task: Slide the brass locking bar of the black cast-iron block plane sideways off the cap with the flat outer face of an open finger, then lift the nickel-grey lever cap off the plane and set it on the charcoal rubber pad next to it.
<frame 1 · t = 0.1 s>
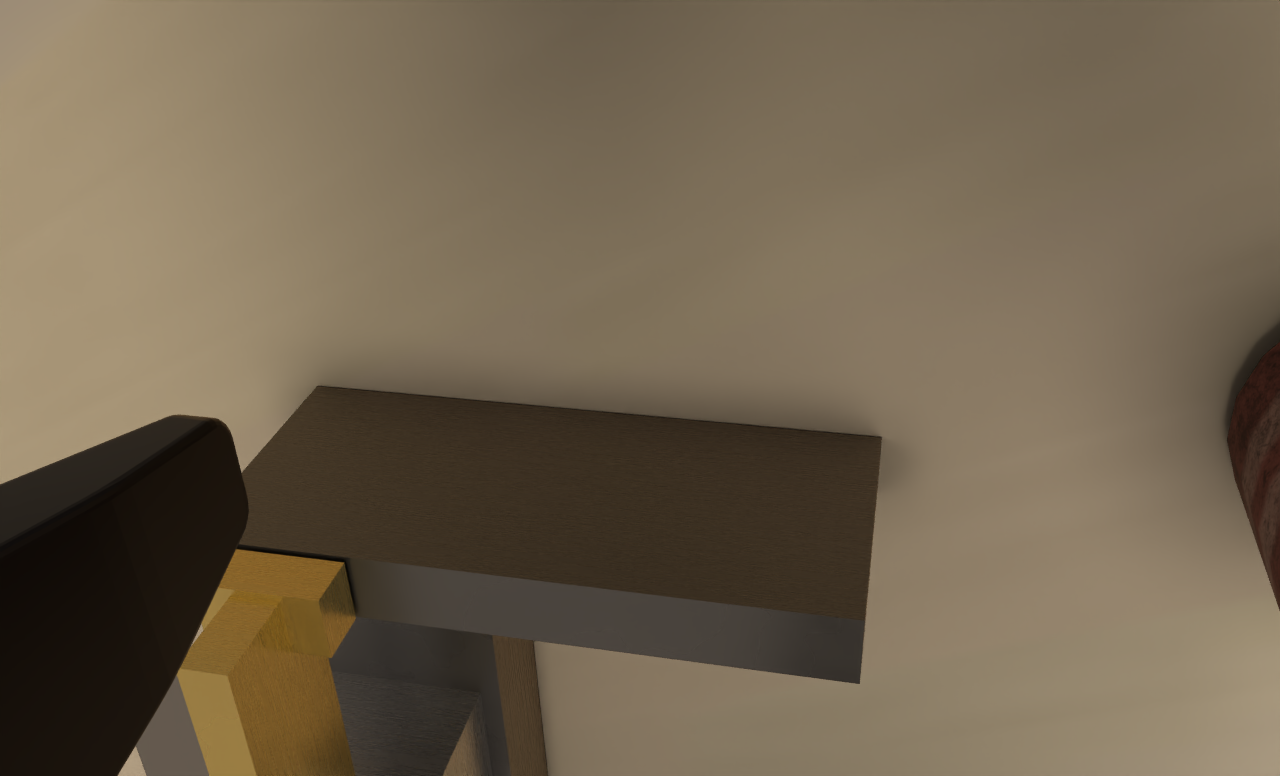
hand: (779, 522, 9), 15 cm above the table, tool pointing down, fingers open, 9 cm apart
rubber pad: (235, 763, 36), on the table
plane body: (439, 635, 32), on the table
lever cap: (409, 738, 30), point 2 cm above the table, touching plane body
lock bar: (284, 761, 24), point 7 cm above the table, slide at 0.0 cm
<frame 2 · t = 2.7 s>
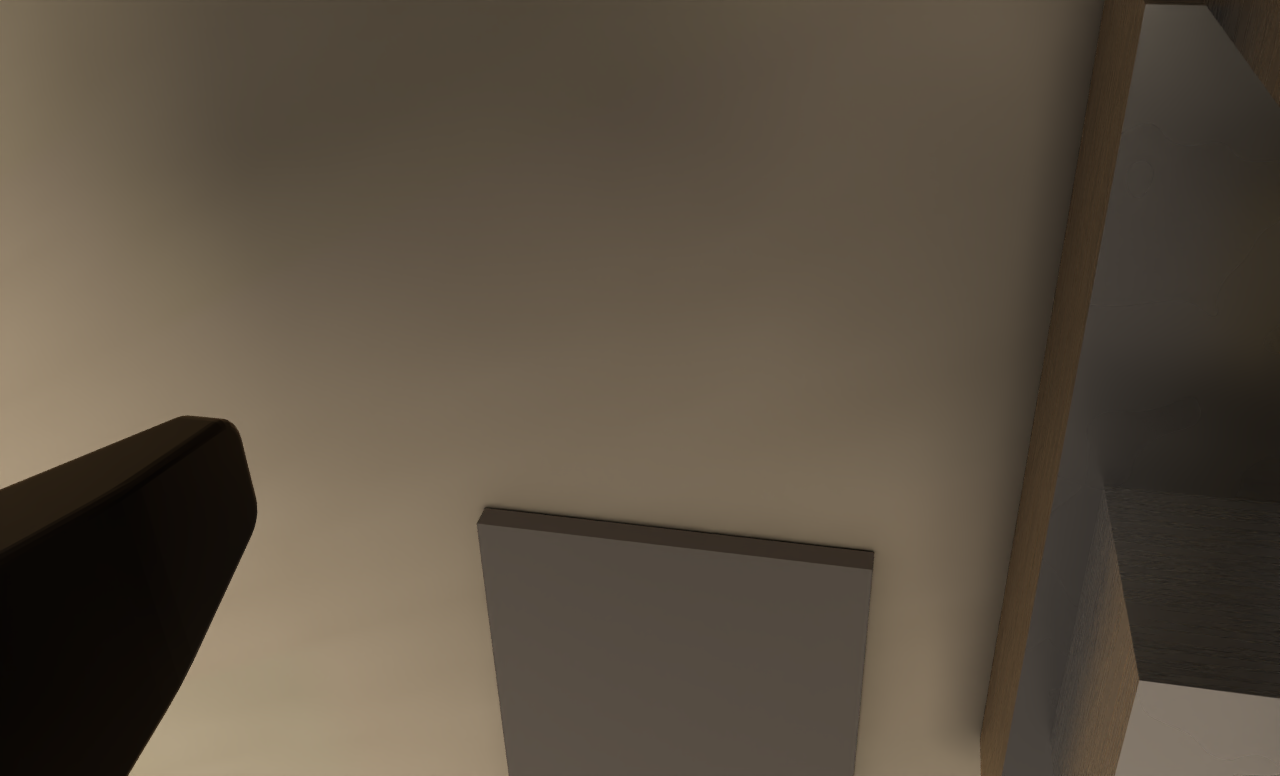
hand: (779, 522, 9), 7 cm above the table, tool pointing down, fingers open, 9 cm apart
rubber pad: (676, 717, 20), on the table
plane body: (1245, 440, 15), on the table
lever cap: (1265, 645, 14), point 2 cm above the table, touching plane body
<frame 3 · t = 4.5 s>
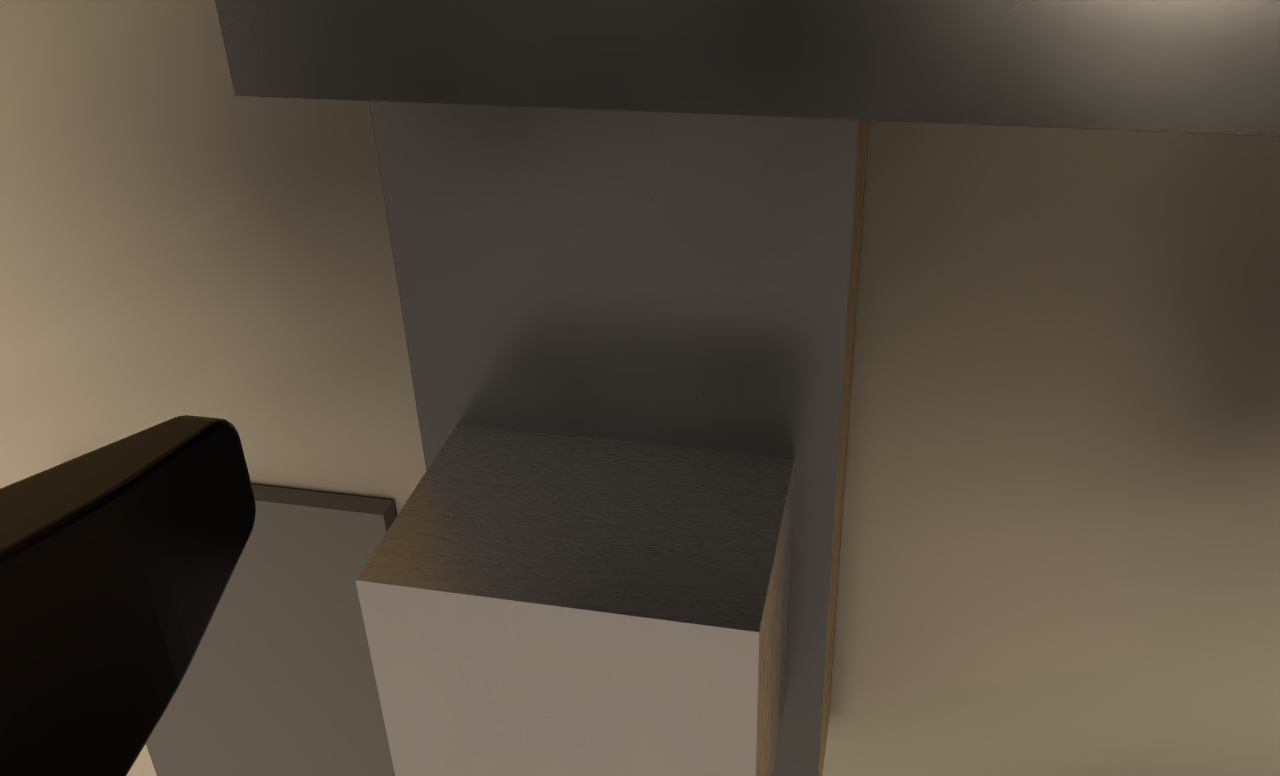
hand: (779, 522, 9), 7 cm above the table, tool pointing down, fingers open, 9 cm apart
rubber pad: (271, 659, 22), on the table
plane body: (664, 391, 17), on the table
lever cap: (627, 569, 15), point 2 cm above the table, touching plane body
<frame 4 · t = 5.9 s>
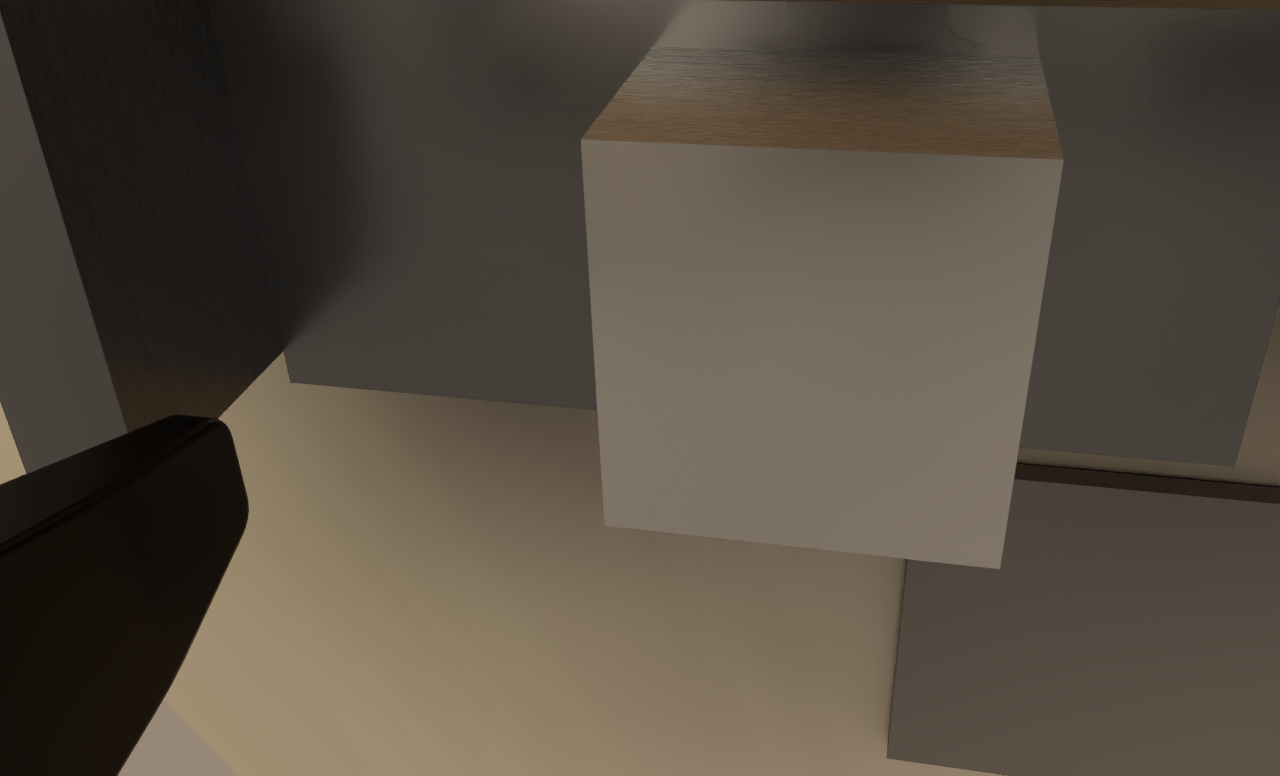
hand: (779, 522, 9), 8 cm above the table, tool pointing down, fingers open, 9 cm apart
rubber pad: (1166, 640, 18), on the table
plane body: (754, 156, 16), on the table
lever cap: (829, 237, 14), point 2 cm above the table, touching plane body
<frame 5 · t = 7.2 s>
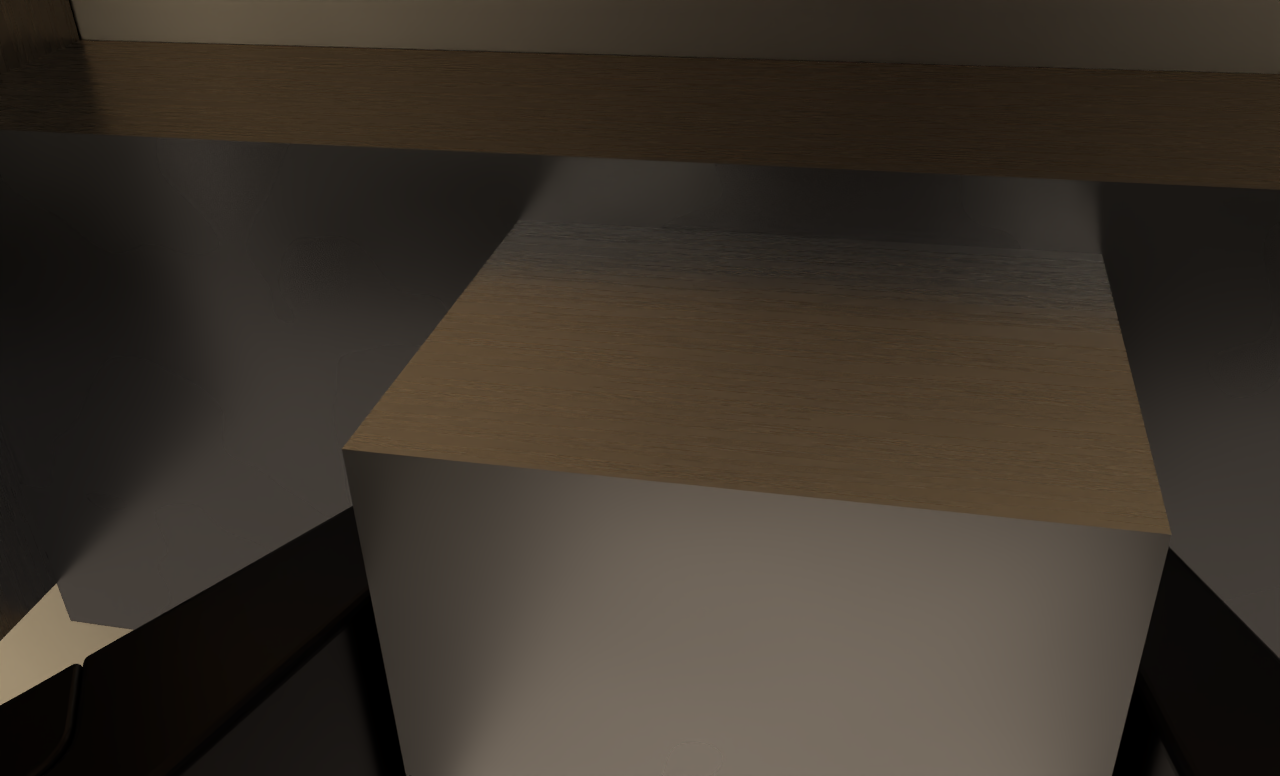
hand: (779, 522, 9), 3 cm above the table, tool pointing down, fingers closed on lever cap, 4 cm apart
plane body: (693, 323, 12), on the table
lever cap: (786, 484, 9), point 2 cm above the table, touching gripper, plane body
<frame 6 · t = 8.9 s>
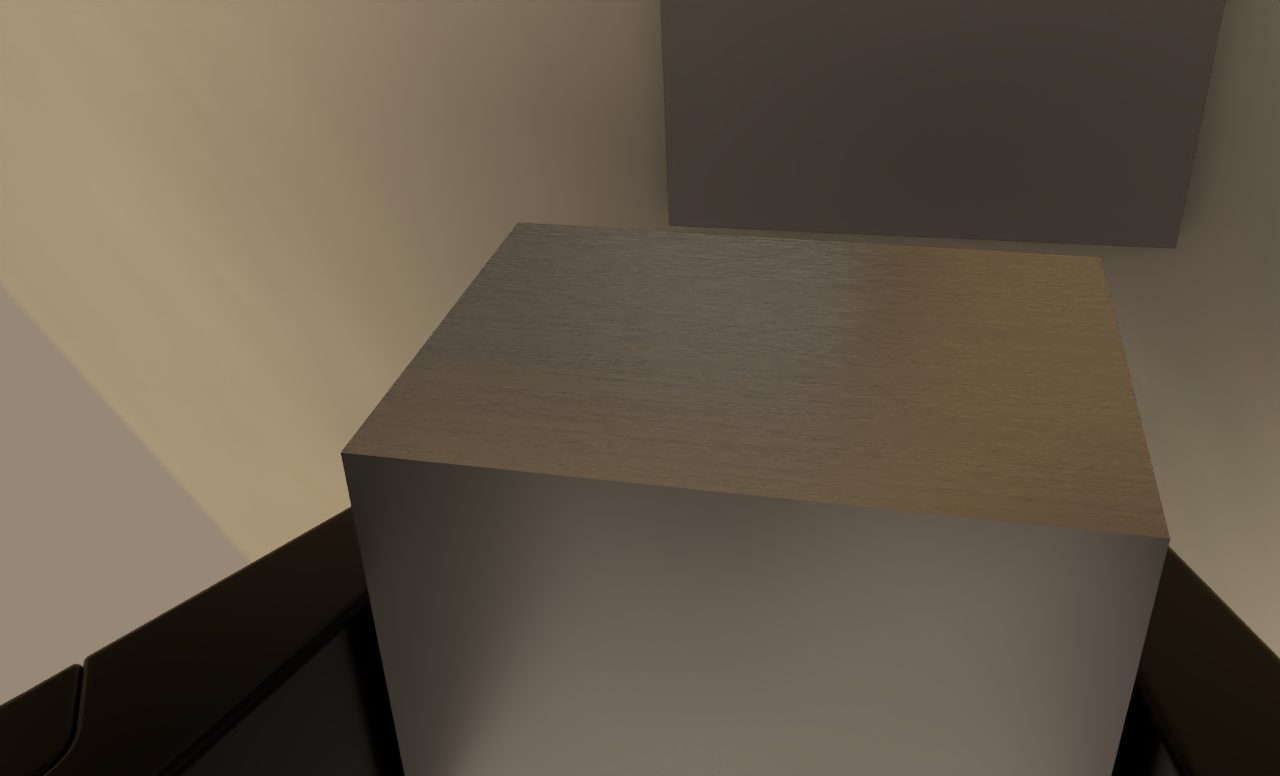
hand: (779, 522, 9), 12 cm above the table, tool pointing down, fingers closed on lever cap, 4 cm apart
rubber pad: (925, 43, 18), on the table
lever cap: (785, 486, 9), point 11 cm above the table, touching gripper
when the fingers open (2 cm above the table, at t = 11.0 s): lever cap drops 1 cm, resting on rubber pad.
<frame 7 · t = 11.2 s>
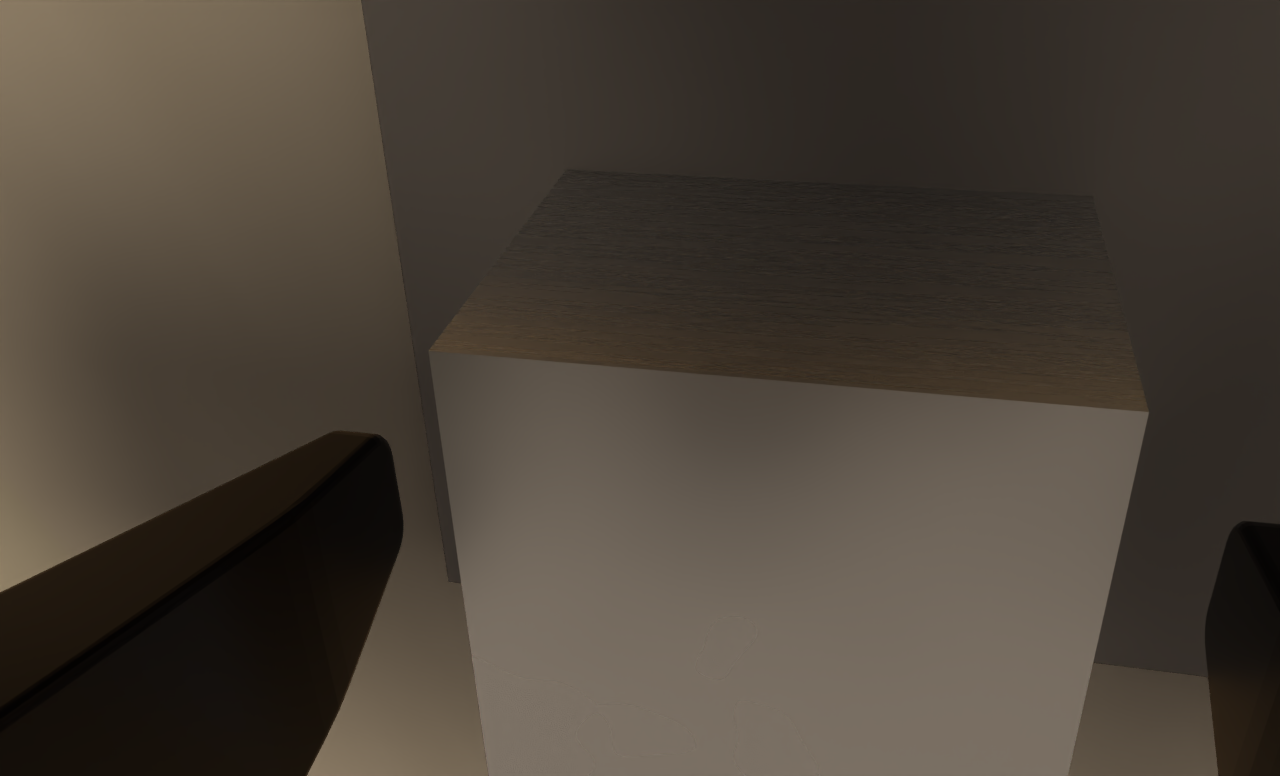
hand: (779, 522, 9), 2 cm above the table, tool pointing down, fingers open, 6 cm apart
rubber pad: (867, 334, 10), on the table
lever cap: (806, 414, 10), resting on rubber pad
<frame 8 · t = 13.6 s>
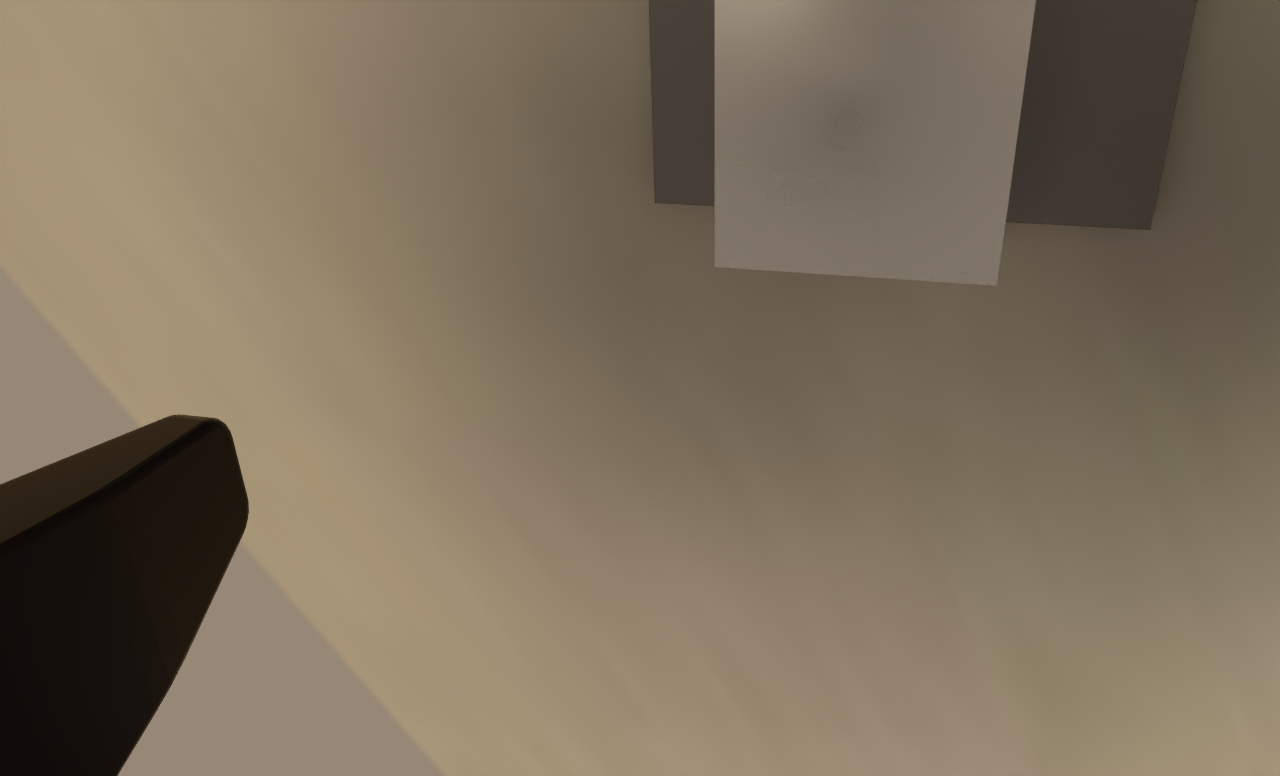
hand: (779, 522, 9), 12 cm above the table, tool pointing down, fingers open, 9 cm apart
rubber pad: (908, 25, 18), on the table
lever cap: (874, 70, 18), resting on rubber pad
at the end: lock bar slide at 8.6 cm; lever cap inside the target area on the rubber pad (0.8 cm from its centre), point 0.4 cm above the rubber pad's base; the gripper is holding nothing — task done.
